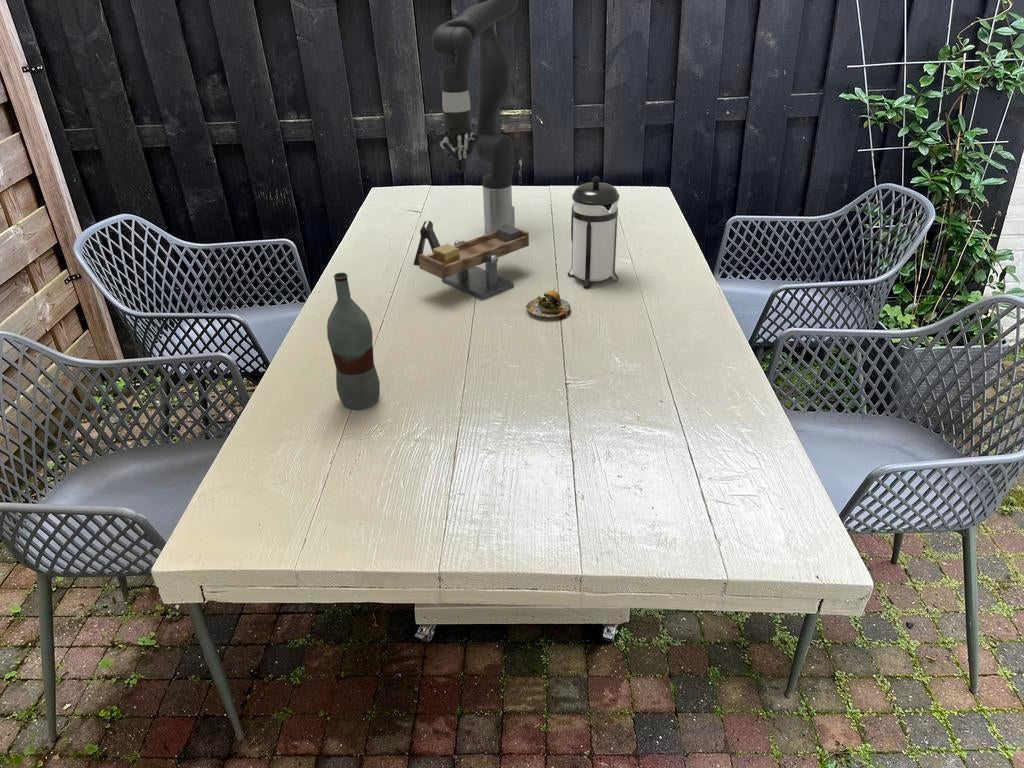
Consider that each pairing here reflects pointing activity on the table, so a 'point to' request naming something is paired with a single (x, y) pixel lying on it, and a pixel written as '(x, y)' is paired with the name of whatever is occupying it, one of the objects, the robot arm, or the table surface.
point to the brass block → (446, 254)
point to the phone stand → (426, 234)
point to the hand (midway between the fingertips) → (460, 171)
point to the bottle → (352, 350)
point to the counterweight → (508, 233)
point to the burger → (549, 306)
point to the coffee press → (594, 231)
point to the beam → (473, 254)
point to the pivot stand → (480, 279)
